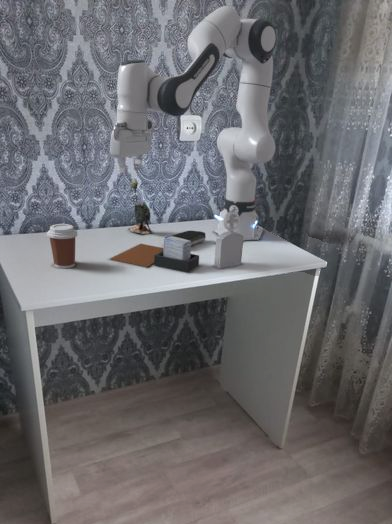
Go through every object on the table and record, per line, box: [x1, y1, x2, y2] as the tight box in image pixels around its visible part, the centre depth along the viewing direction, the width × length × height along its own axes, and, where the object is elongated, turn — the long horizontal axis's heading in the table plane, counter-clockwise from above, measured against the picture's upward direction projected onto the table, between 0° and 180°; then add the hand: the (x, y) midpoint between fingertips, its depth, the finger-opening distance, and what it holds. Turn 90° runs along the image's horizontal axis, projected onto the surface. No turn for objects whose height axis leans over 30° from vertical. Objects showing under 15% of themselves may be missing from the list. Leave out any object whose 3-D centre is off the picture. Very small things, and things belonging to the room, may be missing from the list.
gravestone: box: [213, 210, 244, 269], centre depth 159 cm, size 3×9×18 cm, turn 127°
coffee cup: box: [46, 223, 78, 269], centre depth 152 cm, size 9×9×12 cm
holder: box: [153, 250, 200, 274], centre depth 159 cm, size 8×12×4 cm
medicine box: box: [163, 235, 192, 261], centre depth 158 cm, size 8×4×9 cm, turn 56°
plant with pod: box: [128, 178, 153, 235], centre depth 187 cm, size 8×11×20 cm
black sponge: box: [164, 230, 207, 246], centre depth 180 cm, size 16×8×4 cm, turn 143°
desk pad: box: [109, 243, 164, 268], centre depth 167 cm, size 20×14×1 cm
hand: (130, 171), depth 152 cm, fingers open, 8 cm apart
